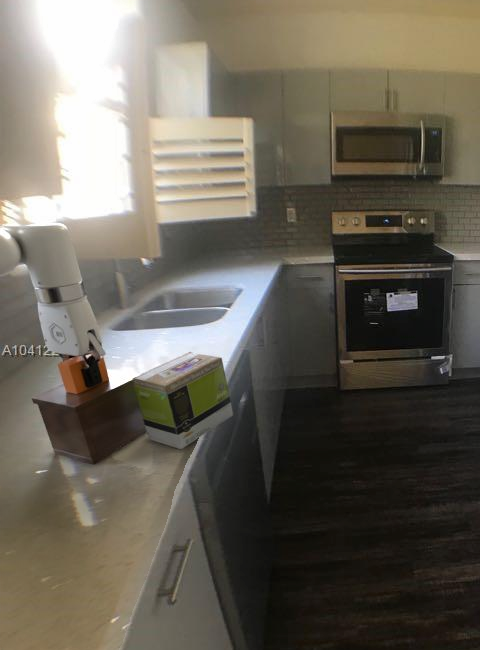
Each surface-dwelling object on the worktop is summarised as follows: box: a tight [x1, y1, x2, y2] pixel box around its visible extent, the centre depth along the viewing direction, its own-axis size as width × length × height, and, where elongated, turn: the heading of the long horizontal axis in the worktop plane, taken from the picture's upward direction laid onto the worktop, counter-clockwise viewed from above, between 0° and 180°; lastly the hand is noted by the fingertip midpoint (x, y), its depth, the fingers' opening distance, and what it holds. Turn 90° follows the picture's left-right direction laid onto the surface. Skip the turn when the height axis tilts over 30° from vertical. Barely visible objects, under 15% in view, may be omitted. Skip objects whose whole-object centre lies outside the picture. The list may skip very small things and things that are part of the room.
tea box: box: [132, 351, 234, 450], centre depth 97 cm, size 15×10×15 cm
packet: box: [56, 354, 109, 394], centre depth 90 cm, size 3×7×6 cm, turn 159°
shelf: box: [31, 368, 147, 465], centre depth 93 cm, size 12×15×13 cm
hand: (87, 382), depth 91 cm, fingers closed on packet, 3 cm apart
